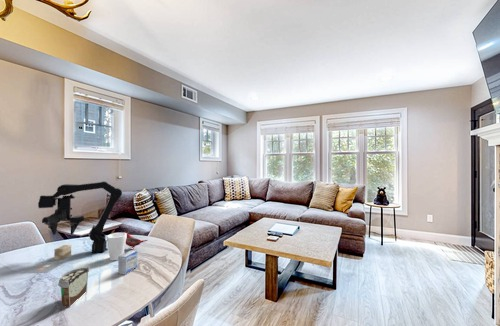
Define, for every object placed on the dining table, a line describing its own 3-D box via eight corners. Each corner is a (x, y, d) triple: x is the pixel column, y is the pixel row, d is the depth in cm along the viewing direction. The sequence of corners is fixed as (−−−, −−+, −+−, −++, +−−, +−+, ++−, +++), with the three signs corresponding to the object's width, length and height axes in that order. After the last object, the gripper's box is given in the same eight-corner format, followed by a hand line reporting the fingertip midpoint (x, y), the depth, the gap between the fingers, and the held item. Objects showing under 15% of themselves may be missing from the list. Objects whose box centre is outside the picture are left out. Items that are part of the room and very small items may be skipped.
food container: (73, 290, 91) (73, 266, 91) (88, 290, 91) (89, 266, 92) (48, 310, 79) (49, 282, 79) (66, 309, 79) (67, 282, 79)
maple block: (71, 255, 126) (71, 245, 126) (62, 260, 120) (63, 249, 120) (62, 255, 125) (63, 245, 125) (54, 260, 119) (54, 249, 119)
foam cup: (102, 260, 120) (103, 236, 120) (118, 253, 129) (118, 231, 129) (114, 263, 117) (115, 238, 117) (129, 256, 125) (130, 233, 125)
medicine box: (125, 275, 105) (126, 256, 105) (117, 274, 105) (118, 256, 105) (137, 267, 112) (137, 250, 112) (129, 266, 113) (130, 249, 113)
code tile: (65, 262, 117) (65, 261, 117) (46, 273, 105) (46, 272, 105) (41, 262, 116) (41, 262, 116) (20, 273, 104) (20, 273, 104)
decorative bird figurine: (123, 247, 139) (123, 231, 139) (148, 249, 136) (149, 233, 136) (119, 249, 136) (120, 233, 136) (146, 251, 133) (146, 234, 133)
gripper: (33, 209, 114) (32, 239, 114) (71, 209, 115) (70, 239, 115) (50, 205, 125) (50, 233, 125) (85, 205, 127) (84, 232, 126)
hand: (63, 234), depth 123 cm, fingers open, 9 cm apart
